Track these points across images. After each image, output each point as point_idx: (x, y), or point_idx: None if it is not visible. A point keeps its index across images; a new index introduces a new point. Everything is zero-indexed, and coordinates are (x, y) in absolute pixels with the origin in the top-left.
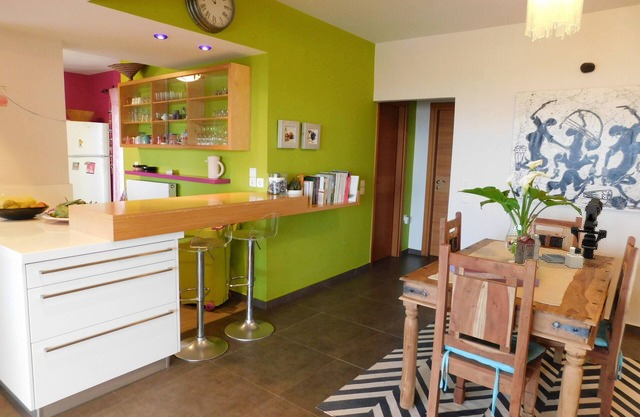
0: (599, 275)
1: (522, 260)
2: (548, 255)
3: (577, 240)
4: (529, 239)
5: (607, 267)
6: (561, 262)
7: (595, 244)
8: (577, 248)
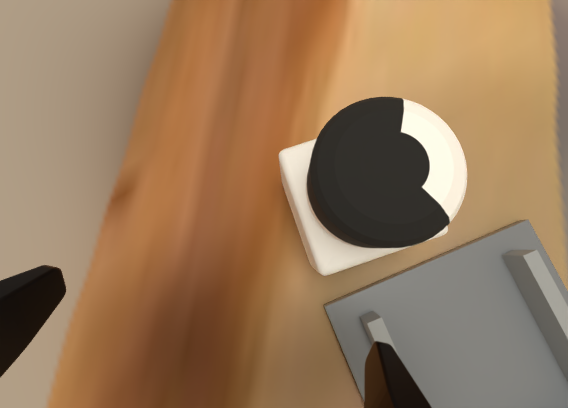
0: (198, 47)
1: None
2: None
3: (405, 384)
4: None
5: (78, 340)
6: (427, 262)
7: (40, 267)
8: (371, 112)
